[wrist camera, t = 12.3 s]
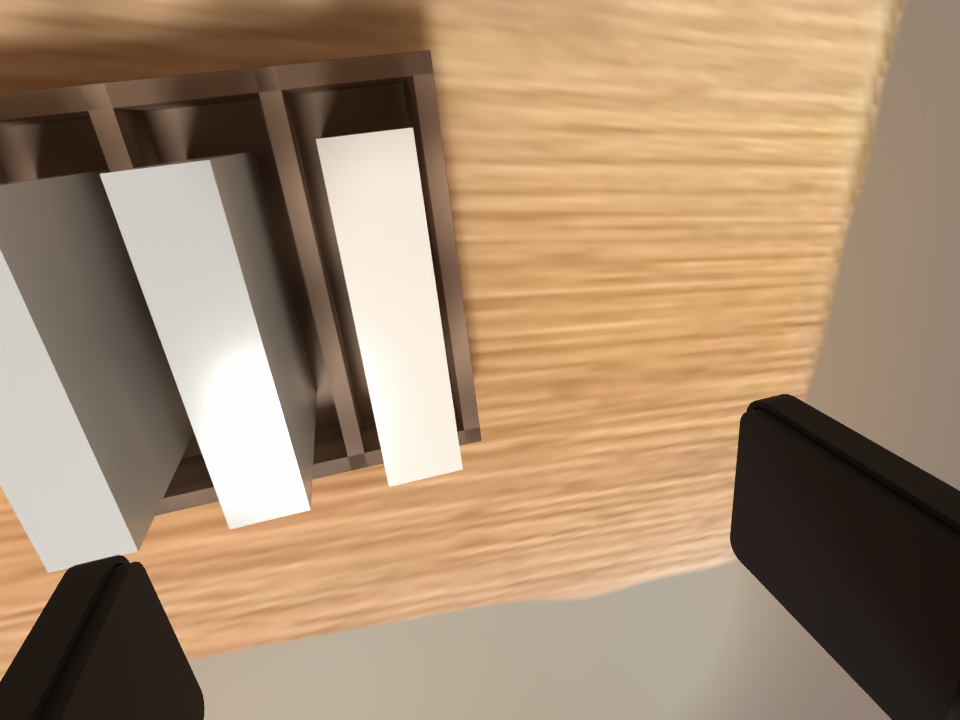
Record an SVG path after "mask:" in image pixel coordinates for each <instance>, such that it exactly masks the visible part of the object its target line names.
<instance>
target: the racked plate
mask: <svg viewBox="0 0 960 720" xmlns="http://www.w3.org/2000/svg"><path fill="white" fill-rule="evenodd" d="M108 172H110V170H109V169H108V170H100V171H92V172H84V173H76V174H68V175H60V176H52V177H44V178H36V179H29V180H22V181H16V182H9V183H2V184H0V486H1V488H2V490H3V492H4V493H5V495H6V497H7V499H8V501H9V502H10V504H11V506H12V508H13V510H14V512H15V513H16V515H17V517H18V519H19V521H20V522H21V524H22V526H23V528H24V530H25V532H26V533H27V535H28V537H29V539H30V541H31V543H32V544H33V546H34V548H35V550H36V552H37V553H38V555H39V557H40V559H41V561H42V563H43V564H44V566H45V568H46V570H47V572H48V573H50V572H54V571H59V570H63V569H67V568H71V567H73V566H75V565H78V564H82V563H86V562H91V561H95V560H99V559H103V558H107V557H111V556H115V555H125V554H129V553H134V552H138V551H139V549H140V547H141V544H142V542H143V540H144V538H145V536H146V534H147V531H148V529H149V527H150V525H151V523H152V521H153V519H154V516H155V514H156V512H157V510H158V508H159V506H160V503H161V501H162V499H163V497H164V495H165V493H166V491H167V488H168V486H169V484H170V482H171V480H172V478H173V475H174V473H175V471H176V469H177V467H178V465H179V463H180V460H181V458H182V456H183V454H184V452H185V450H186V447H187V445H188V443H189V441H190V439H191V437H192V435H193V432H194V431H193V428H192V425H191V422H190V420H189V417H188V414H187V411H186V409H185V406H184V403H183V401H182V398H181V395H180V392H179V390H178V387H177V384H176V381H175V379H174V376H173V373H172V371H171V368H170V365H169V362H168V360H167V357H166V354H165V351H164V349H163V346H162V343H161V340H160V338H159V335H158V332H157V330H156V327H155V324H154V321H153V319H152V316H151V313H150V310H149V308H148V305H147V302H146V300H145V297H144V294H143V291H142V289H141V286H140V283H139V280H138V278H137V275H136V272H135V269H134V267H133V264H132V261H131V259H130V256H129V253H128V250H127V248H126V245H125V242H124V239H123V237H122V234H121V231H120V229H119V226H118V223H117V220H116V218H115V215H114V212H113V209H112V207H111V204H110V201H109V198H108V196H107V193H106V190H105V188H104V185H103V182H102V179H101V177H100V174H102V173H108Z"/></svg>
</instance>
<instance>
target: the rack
mask: <svg viewBox="0 0 960 720" xmlns="http://www.w3.org/2000/svg"><path fill="white" fill-rule="evenodd" d="M403 128H413V132H414V138H415V145H416V152H417V159H418V166H419V173H420V180H421V186H422V193H423V200H424V207H425V214H426V221H427V228H428V235H429V241H430V248H431V255H432V262H433V269H434V276H435V283H436V290H437V296H438V303H439V310H440V317H441V324H442V331H443V338H444V345H445V351H446V358H447V365H448V372H449V379H450V386H451V393H452V400H453V406H454V413H455V420H456V427H457V434H458V441H459V446H460V445H464V444H468V443H473V442H477V441H481V433H480V426H479V418H478V411H477V403H476V395H475V388H474V380H473V372H472V365H471V357H470V350H469V342H468V334H467V327H466V319H465V312H464V304H463V296H462V289H461V281H460V274H459V266H458V258H457V251H456V243H455V235H454V228H453V220H452V213H451V205H450V197H449V190H448V182H447V175H446V167H445V159H444V152H443V144H442V136H441V129H440V121H439V114H438V106H437V98H436V91H435V83H434V76H433V68H432V60H431V53H430V50H427V51H417V52H408V53H398V54H388V55H378V56H368V57H358V58H348V59H338V60H328V61H318V62H308V63H298V64H288V65H278V66H268V67H258V68H248V69H238V70H229V71H219V72H209V73H199V74H189V75H179V76H169V77H159V78H149V79H139V80H129V81H119V82H109V83H99V84H89V85H79V86H69V87H60V88H50V89H40V90H30V91H20V92H10V93H0V184H2V183H9V182H16V181H22V180H29V179H36V178H44V177H52V176H60V175H68V174H76V173H84V172H92V171H100V170H108V169H109V170H110V172H114V171H120V170H126V169H132V168H138V167H144V166H150V165H156V164H162V163H169V162H175V161H181V160H187V159H195V158H203V157H211V156H219V155H227V154H235V153H242V152H250V151H254V152H255V156H256V160H257V163H258V167H259V171H260V175H261V179H262V183H263V187H264V191H265V195H266V198H267V202H268V206H269V210H270V214H271V218H272V222H273V226H274V230H275V233H276V237H277V241H278V245H279V249H280V253H281V257H282V261H283V264H284V268H285V272H286V276H287V280H288V284H289V288H290V292H291V296H292V299H293V303H294V307H295V311H296V315H297V319H298V323H299V327H300V331H301V334H302V338H303V342H304V346H305V350H306V354H307V358H308V362H309V365H310V369H311V373H312V377H313V381H314V385H315V389H316V393H317V403H316V422H315V440H314V458H313V476H312V479H317V478H321V477H325V476H330V475H334V474H338V473H343V472H347V471H351V470H356V469H360V468H364V467H369V466H373V465H377V464H382V463H384V461H383V456H382V451H381V446H380V442H379V437H378V432H377V428H376V423H375V418H374V413H373V409H372V404H371V399H370V394H369V390H368V385H367V380H366V375H365V371H364V366H363V361H362V356H361V352H360V347H359V342H358V337H357V333H356V328H355V323H354V318H353V314H352V309H351V304H350V299H349V295H348V290H347V285H346V280H345V276H344V271H343V266H342V261H341V257H340V252H339V247H338V242H337V238H336V233H335V228H334V223H333V219H332V214H331V209H330V205H329V200H328V195H327V190H326V186H325V181H324V176H323V171H322V167H321V162H320V157H319V152H318V148H317V143H316V139H319V138H325V137H334V136H342V135H350V134H359V133H367V132H375V131H384V130H393V129H403ZM217 501H219V499H218V496H217V493H216V491H215V488H214V485H213V482H212V480H211V477H210V474H209V472H208V469H207V466H206V463H205V461H204V458H203V455H202V452H201V450H200V447H199V444H198V442H197V439H196V436H195V433H194V432H193V435H192V437H191V439H190V441H189V443H188V445H187V447H186V450H185V452H184V454H183V456H182V458H181V460H180V463H179V465H178V467H177V469H176V471H175V473H174V475H173V478H172V480H171V482H170V484H169V486H168V488H167V491H166V493H165V495H164V497H163V499H162V501H161V503H160V506H159V508H158V510H157V512H156V514H155V516H156V515H161V514H165V513H169V512H174V511H178V510H182V509H187V508H191V507H195V506H200V505H204V504H208V503H213V502H217Z"/></svg>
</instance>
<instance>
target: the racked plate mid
mask: <svg viewBox="0 0 960 720" xmlns="http://www.w3.org/2000/svg"><path fill="white" fill-rule="evenodd" d="M100 177H101V179H102V182H103V185H104V188H105V190H106V193H107V196H108V198H109V201H110V204H111V207H112V209H113V212H114V215H115V218H116V220H117V223H118V226H119V229H120V231H121V234H122V237H123V239H124V242H125V245H126V248H127V250H128V253H129V256H130V259H131V261H132V264H133V267H134V269H135V272H136V275H137V278H138V280H139V283H140V286H141V289H142V291H143V294H144V297H145V300H146V302H147V305H148V308H149V310H150V313H151V316H152V319H153V321H154V324H155V327H156V330H157V332H158V335H159V338H160V340H161V343H162V346H163V349H164V351H165V354H166V357H167V360H168V362H169V365H170V368H171V371H172V373H173V376H174V379H175V381H176V384H177V387H178V390H179V392H180V395H181V398H182V401H183V403H184V406H185V409H186V411H187V414H188V417H189V420H190V422H191V425H192V428H193V431H194V433H195V436H196V439H197V442H198V444H199V447H200V450H201V452H202V455H203V458H204V461H205V463H206V466H207V469H208V472H209V474H210V477H211V480H212V482H213V485H214V488H215V491H216V493H217V496H218V499H219V502H220V504H221V507H222V510H223V513H224V515H225V518H226V521H227V523H228V526H229V529H234V528H238V527H242V526H246V525H250V524H254V523H259V522H263V521H267V520H271V519H275V518H279V517H284V516H288V515H292V514H296V513H300V512H304V511H309V510H311V495H312V476H313V458H314V440H315V422H316V403H317V393H316V389H315V385H314V381H313V377H312V373H311V369H310V365H309V362H308V358H307V354H306V350H305V346H304V342H303V338H302V334H301V331H300V327H299V323H298V319H297V315H296V311H295V307H294V303H293V299H292V296H291V292H290V288H289V284H288V280H287V276H286V272H285V268H284V264H283V261H282V257H281V253H280V249H279V245H278V241H277V237H276V233H275V230H274V226H273V222H272V218H271V214H270V210H269V206H268V202H267V198H266V195H265V191H264V187H263V183H262V179H261V175H260V171H259V167H258V163H257V160H256V156H255V152H254V151H250V152H242V153H235V154H227V155H219V156H211V157H203V158H195V159H187V160H181V161H175V162H169V163H162V164H156V165H150V166H144V167H138V168H132V169H126V170H120V171H114V172H108V173H102V174H100Z"/></svg>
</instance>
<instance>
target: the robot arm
mask: <svg viewBox="0 0 960 720" xmlns="http://www.w3.org/2000/svg"><path fill="white" fill-rule="evenodd" d="M730 542H731V546H732V549H733V551H734V553H735V555H736V557H737V558H738V559H739V560H740V562H741V563H742V564H743V565H744V566H745V567H746V568H747V569H748V570H749V571H750V572H751V573H752V574H753V575H754V576H755V577H756V578H757V579H758V580H759V581H760V582H761V584H763V586H765V588H766V589H767V590H768V591H769V592H770V593H771V594H772V595H773V596H774V597H775V598H776V599H777V600H778V601H779V602H780V603H781V604H782V605H783V606H784V607H785V609H786V610H787V611H788V612H789V613H790V614H791V615H792V616H793V617H794V618H795V619H796V620H797V621H798V622H799V623H800V624H801V625H802V626H803V627H804V628H805V629H806V630H807V632H809V633H810V635H811V636H812V637H813V638H814V639H815V640H816V641H817V642H818V643H819V644H820V645H821V646H822V647H823V648H824V649H825V650H826V651H827V652H828V653H829V654H830V656H832V658H833V659H834V660H835V661H836V662H837V663H838V664H839V665H840V666H841V667H842V668H843V669H844V670H845V671H846V672H847V673H848V674H849V675H850V676H851V677H852V678H853V679H854V680H855V682H856V683H857V684H858V685H859V686H860V687H861V688H862V689H863V690H864V691H865V692H866V693H867V694H868V695H869V696H870V697H871V698H872V699H873V700H874V701H875V702H876V703H877V705H879V707H880V708H882V710H883V711H884V712H885V713H886V714H887V715H888V716H889V717H890V718H891V719H892V720H960V491H959V490H957V489H955V488H954V487H952V486H950V485H948V484H947V483H945V482H943V481H941V480H939V479H938V478H936V477H934V476H932V475H931V474H929V473H927V472H925V471H924V470H922V469H920V468H918V467H917V466H915V465H913V464H911V463H910V462H908V461H906V460H904V459H903V458H901V457H899V456H897V455H896V454H894V453H892V452H890V451H889V450H887V449H885V448H883V447H882V446H880V445H878V444H876V443H875V442H873V441H871V440H869V439H867V438H866V437H864V436H862V435H860V434H859V433H857V432H855V431H853V430H852V429H850V428H848V427H846V426H845V425H843V424H841V423H839V422H838V421H836V420H834V419H832V418H831V417H829V416H827V415H825V414H824V413H822V412H820V411H818V410H817V409H815V408H813V407H811V406H810V405H808V404H806V403H804V402H803V401H801V400H799V399H797V398H796V397H794V396H791V395H788V394H782V395H778V396H773V397H769V398H765V399H761V400H757V401H754V402H752V403H750V405H749V406H748V408H747V412H746V413H744V414H743V415H742V417H741V420H740V430H739V441H738V453H737V464H736V476H735V487H734V499H733V510H732V522H731V533H730ZM203 719H204V700H203V694H202V691H201V689H200V687H199V685H198V682H197V680H196V678H195V676H194V674H193V671H192V669H191V667H190V665H189V663H188V661H187V658H186V656H185V654H184V652H183V650H182V648H181V646H180V643H179V641H178V639H177V637H176V635H175V633H174V630H173V628H172V626H171V624H170V622H169V620H168V618H167V615H166V613H165V611H164V609H163V607H162V605H161V602H160V600H159V598H158V596H157V594H156V592H155V589H154V587H153V585H152V583H151V581H150V579H149V577H148V574H147V572H146V570H145V568H144V567H143V565H142V564H141V563H140V562H132V563H129V561H128V560H127V559H126V558H125V557H124V556H122V555H115V556H111V557H107V558H103V559H99V560H95V561H91V562H86V563H82V564H78V565H75V566H73V567H71V568H69V569H68V570H67V572H66V573H65V574H64V576H63V577H62V579H61V581H60V583H59V584H58V586H57V588H56V589H55V591H54V593H53V594H52V596H51V598H50V599H49V601H48V603H47V604H46V606H45V608H44V609H43V611H42V613H41V614H40V616H39V618H38V619H37V621H36V623H35V625H34V626H33V628H32V630H31V631H30V633H29V635H28V636H27V638H26V640H25V641H24V643H23V645H22V646H21V648H20V650H19V651H18V653H17V655H16V656H15V658H14V660H13V662H12V663H11V665H10V667H9V668H8V670H7V672H6V673H5V675H4V677H3V678H2V680H1V682H0V720H203Z"/></svg>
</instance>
